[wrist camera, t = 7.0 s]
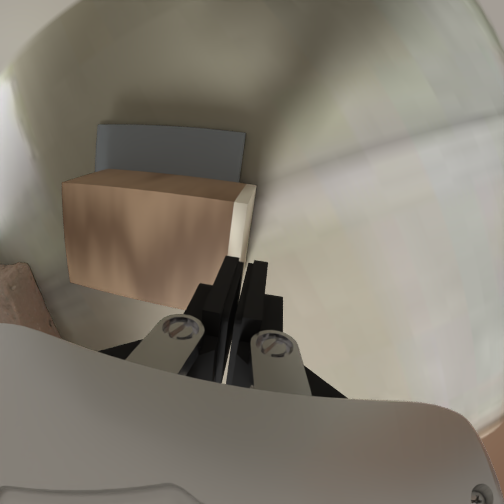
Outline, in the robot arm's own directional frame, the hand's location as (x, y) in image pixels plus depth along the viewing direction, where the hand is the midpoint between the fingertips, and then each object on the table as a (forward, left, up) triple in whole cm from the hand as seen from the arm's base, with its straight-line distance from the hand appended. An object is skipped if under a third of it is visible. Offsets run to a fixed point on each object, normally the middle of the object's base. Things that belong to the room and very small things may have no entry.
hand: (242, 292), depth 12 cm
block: (0, 0, -5) cm, 5 cm away
